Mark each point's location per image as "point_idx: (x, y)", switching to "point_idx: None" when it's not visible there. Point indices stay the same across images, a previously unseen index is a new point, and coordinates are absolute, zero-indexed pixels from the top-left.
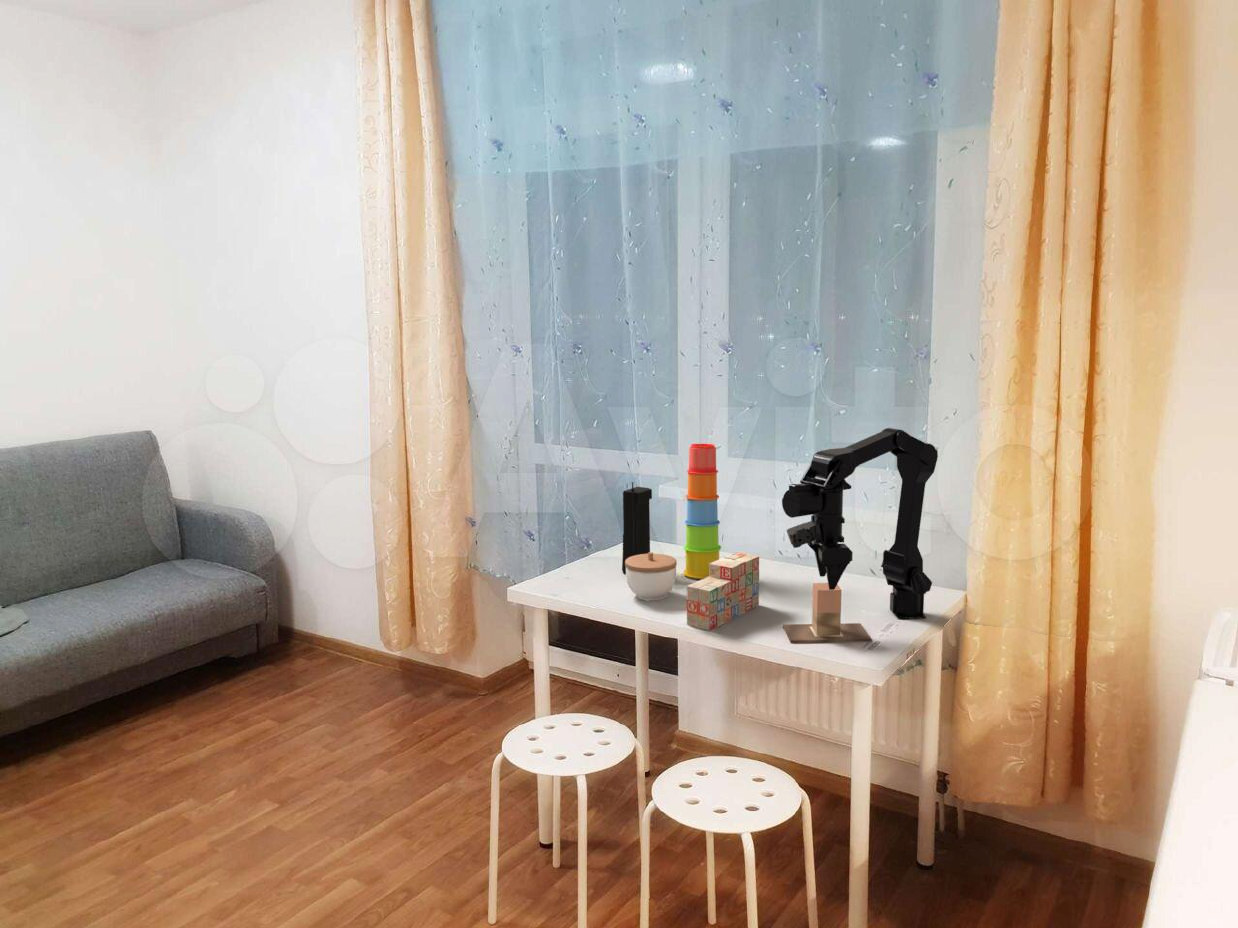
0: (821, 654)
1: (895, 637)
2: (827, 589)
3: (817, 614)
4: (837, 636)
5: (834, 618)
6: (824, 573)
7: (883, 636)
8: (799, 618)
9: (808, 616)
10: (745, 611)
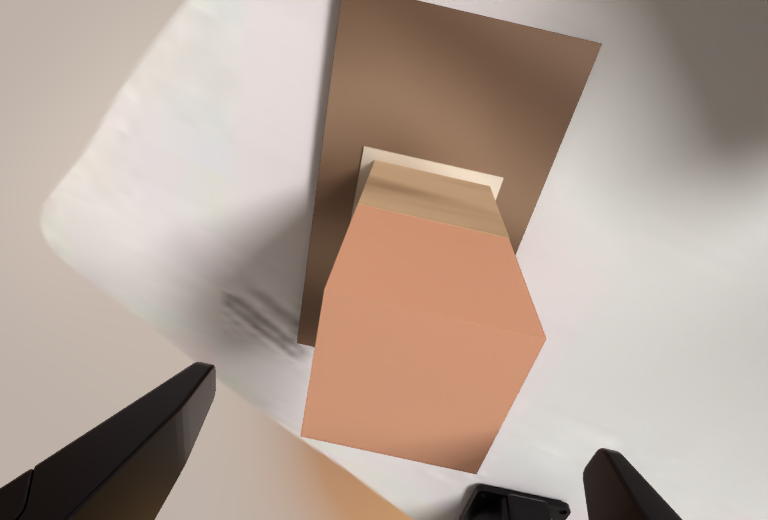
0: (177, 90)
1: None
2: (329, 364)
3: (360, 202)
4: None
5: None
6: (592, 497)
7: None
8: (669, 190)
9: (669, 242)
10: None
